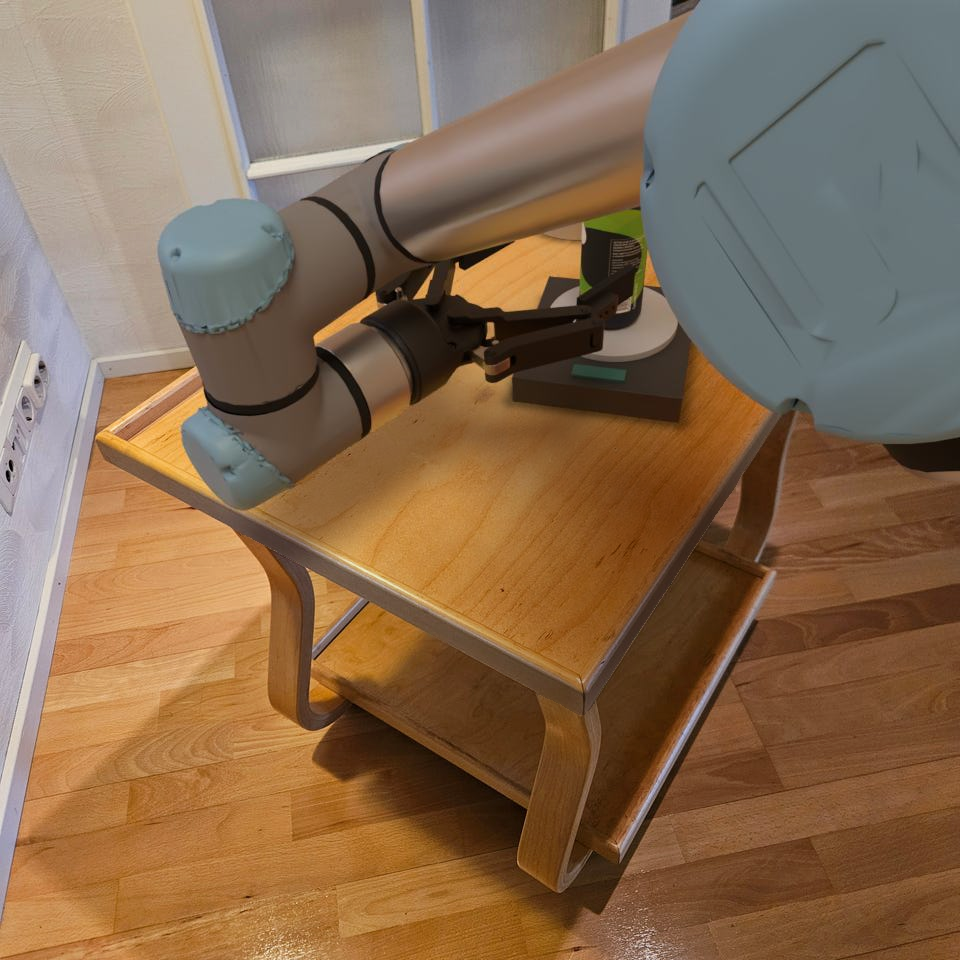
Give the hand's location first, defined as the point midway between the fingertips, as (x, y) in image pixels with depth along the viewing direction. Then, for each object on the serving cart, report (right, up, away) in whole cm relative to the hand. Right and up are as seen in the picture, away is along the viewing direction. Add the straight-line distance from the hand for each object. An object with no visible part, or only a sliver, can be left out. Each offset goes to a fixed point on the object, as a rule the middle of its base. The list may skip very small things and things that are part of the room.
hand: (568, 251), depth 72 cm
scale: (+5, -7, +13) cm, 16 cm away
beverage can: (+5, -3, +12) cm, 13 cm away
